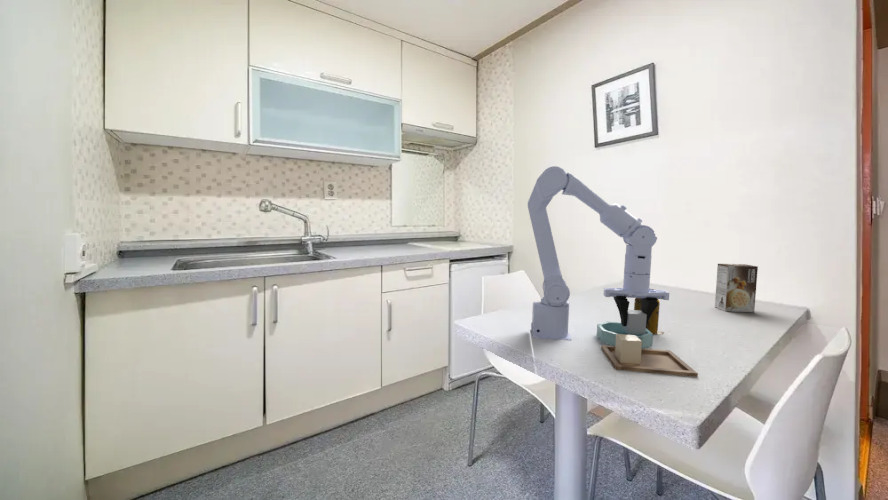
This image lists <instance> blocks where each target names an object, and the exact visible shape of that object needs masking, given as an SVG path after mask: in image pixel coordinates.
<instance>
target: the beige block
mask: <svg viewBox="0 0 888 500" xmlns="http://www.w3.org/2000/svg"><path fill="white" fill-rule="evenodd" d="M641 348H642V341H641V340H640V339H639V338H638V337H637V336H636V335H625V334H616V344H615V356H616V357H617V359H618V360H619V361H620V362H621V363H633V364H640V363H641Z"/></svg>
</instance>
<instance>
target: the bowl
mask: <svg viewBox="0 0 888 500" xmlns="http://www.w3.org/2000/svg"><path fill="white" fill-rule="evenodd" d="M596 325H597V328H596V336H597V338H598V339H599V341H600V342H601V343H604V344H607V345H608V346H615V344H616V334H625V335H636V336H637V337H638V338H639V339H640V340H641V341H642V348H644V349H648V348H650V347H653V339H654V336H653V335H654V334H653V333H651V332H650V331H649V330H648V329H646V332H645V334H630V333H627V332H626V331H625V330H624V329H623V325H622V324H621V321H619V322H618V321H605V322H601V323H597V324H596Z"/></svg>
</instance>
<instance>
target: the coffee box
mask: <svg viewBox="0 0 888 500" xmlns="http://www.w3.org/2000/svg"><path fill="white" fill-rule="evenodd" d="M758 270H759V266H758V265H757V266H756V265H753V264H752V265H751V264H746V263H745V264H743V263H717V271H716V286H715V296H714V307H715V308H717V309H719V310H722V311H724V312H736V313H737V312H738V313H755V305H756V296H757V295H756V293H757V282H758Z"/></svg>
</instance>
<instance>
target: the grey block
mask: <svg viewBox="0 0 888 500" xmlns="http://www.w3.org/2000/svg"><path fill="white" fill-rule="evenodd" d="M646 317H647V315H646V314H645V313H644V312H642V311H641V310H634V309H628V313H627V326H623V329H624V330H625V331H626V332H627V333H630V334H645V332H646Z"/></svg>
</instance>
